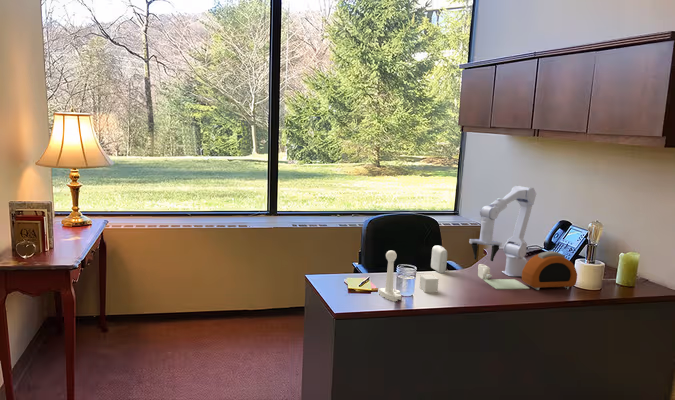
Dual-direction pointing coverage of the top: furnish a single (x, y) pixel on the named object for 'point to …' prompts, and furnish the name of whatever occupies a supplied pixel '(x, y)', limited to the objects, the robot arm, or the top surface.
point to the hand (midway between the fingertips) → (483, 259)
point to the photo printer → (439, 259)
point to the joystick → (390, 279)
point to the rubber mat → (505, 284)
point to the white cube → (428, 283)
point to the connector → (484, 271)
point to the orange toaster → (549, 271)
